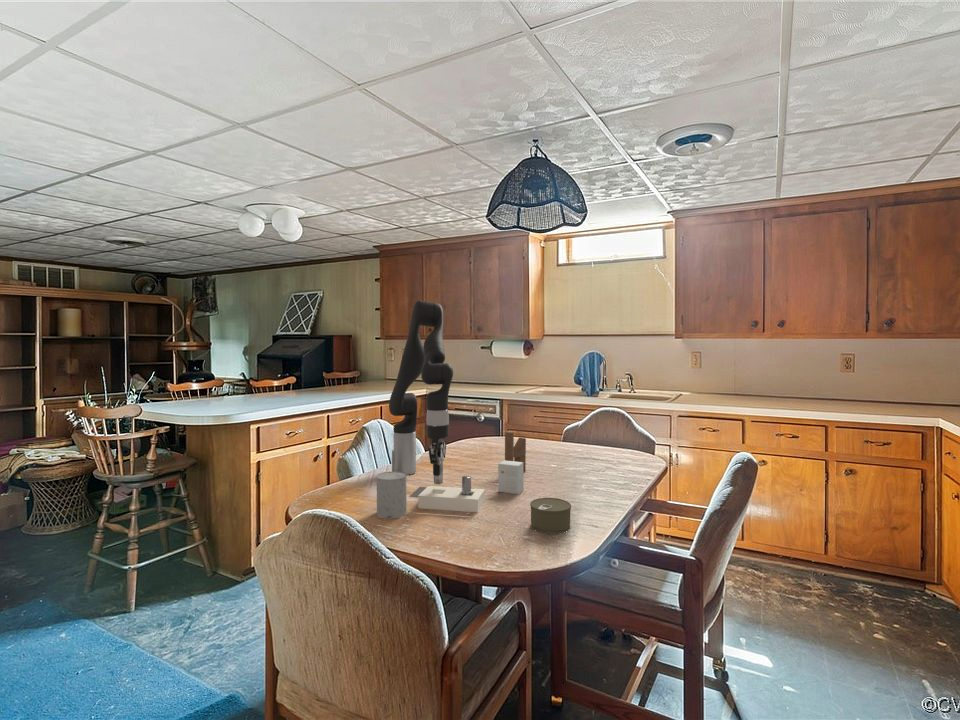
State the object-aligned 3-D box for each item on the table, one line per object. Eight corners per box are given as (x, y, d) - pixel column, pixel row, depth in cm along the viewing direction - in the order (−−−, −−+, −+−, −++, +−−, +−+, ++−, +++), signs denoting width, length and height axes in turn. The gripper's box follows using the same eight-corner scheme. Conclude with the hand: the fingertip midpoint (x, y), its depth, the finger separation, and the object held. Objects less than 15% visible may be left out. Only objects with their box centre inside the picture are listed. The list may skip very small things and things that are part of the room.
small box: (523, 490, 182) (524, 462, 182) (518, 494, 177) (518, 465, 177) (503, 487, 186) (503, 459, 185) (498, 491, 181) (498, 463, 180)
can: (578, 526, 148) (578, 503, 147) (557, 538, 139) (557, 514, 138) (544, 516, 156) (544, 495, 155) (522, 527, 146) (522, 504, 146)
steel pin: (432, 484, 165) (432, 454, 165) (435, 481, 168) (435, 452, 168) (441, 484, 164) (441, 454, 164) (443, 482, 167) (443, 452, 167)
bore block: (418, 509, 162) (418, 495, 162) (428, 498, 173) (428, 485, 173) (477, 513, 158) (477, 499, 158) (484, 502, 169) (484, 489, 169)
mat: (409, 497, 174) (409, 496, 174) (419, 487, 186) (419, 486, 186) (447, 500, 171) (447, 499, 171) (456, 490, 183) (456, 489, 183)
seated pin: (461, 507, 163) (461, 477, 163) (463, 504, 166) (463, 475, 166) (470, 508, 163) (470, 478, 162) (472, 505, 166) (472, 476, 165)
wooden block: (525, 471, 208) (526, 429, 208) (509, 476, 200) (509, 432, 200) (518, 470, 211) (519, 428, 210) (502, 475, 203) (502, 431, 202)
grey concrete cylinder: (392, 521, 152) (392, 481, 151) (370, 515, 157) (369, 476, 156) (413, 511, 160) (412, 474, 159) (390, 506, 165) (390, 470, 164)
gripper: (433, 419, 173) (433, 468, 174) (420, 426, 159) (420, 479, 160) (453, 420, 172) (454, 469, 172) (442, 426, 158) (443, 480, 158)
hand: (438, 473), depth 166 cm, fingers closed on steel pin, 3 cm apart
